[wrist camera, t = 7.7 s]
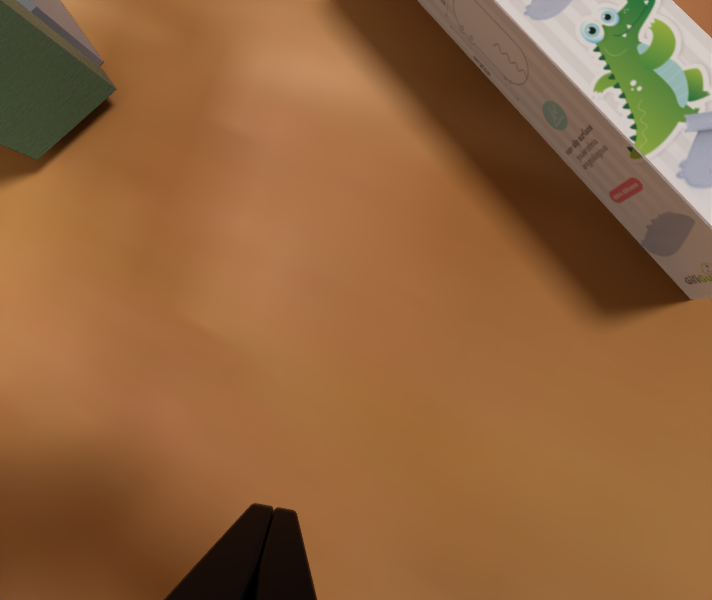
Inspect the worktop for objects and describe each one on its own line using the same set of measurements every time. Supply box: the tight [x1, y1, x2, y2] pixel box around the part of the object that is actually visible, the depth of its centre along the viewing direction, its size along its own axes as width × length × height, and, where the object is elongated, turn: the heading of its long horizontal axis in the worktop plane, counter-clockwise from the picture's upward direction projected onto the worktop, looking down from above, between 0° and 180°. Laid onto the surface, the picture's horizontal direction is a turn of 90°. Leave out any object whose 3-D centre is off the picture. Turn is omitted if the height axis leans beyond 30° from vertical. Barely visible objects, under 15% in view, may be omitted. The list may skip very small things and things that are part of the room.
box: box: [417, 0, 712, 299], centre depth 17 cm, size 4×4×28 cm
